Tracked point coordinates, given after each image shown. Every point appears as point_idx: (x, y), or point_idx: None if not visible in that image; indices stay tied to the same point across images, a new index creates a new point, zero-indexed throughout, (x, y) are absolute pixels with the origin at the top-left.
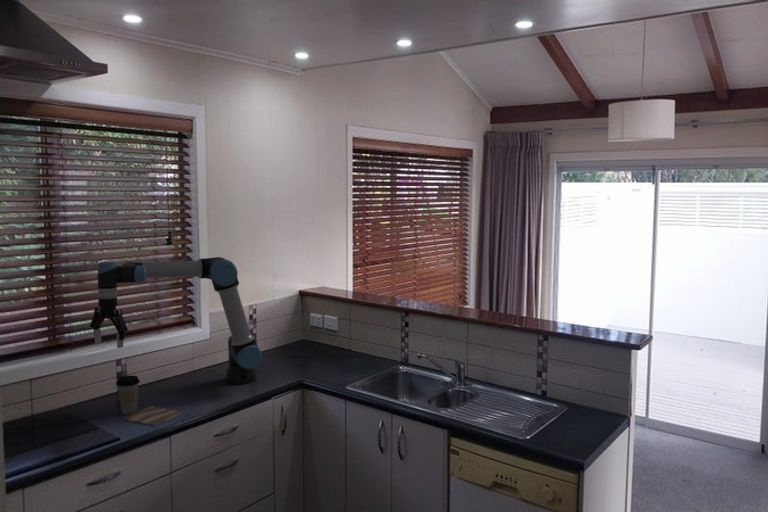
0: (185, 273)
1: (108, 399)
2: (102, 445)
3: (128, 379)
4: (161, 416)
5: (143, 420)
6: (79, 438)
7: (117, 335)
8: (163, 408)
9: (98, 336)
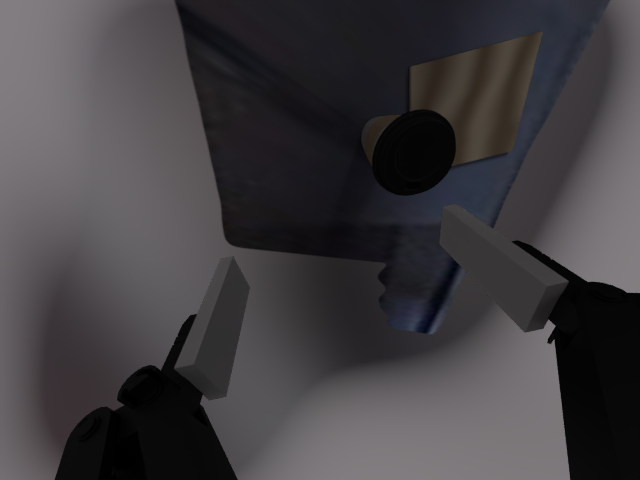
0: None
1: (235, 116)
2: None
3: (430, 165)
4: (493, 106)
5: (464, 153)
6: (406, 262)
7: (515, 311)
8: (460, 55)
9: (230, 315)
